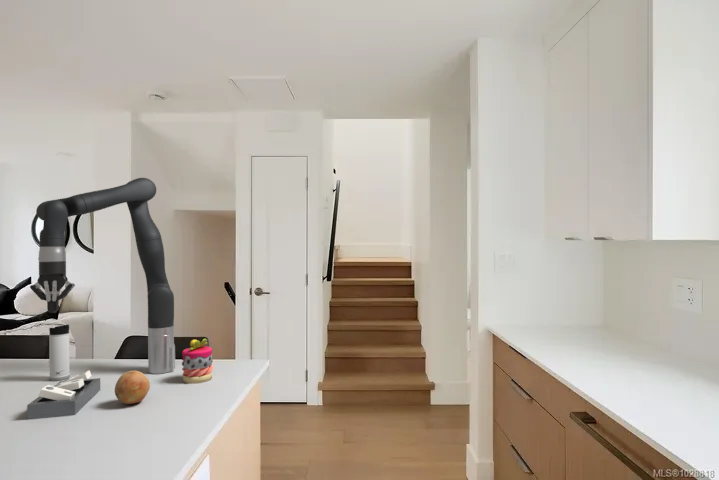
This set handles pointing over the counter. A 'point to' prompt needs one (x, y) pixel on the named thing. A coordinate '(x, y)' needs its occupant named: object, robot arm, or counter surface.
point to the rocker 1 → (56, 393)
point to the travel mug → (59, 353)
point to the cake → (197, 362)
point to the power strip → (64, 402)
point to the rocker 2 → (79, 377)
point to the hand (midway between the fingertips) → (52, 312)
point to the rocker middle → (71, 384)
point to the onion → (132, 387)
